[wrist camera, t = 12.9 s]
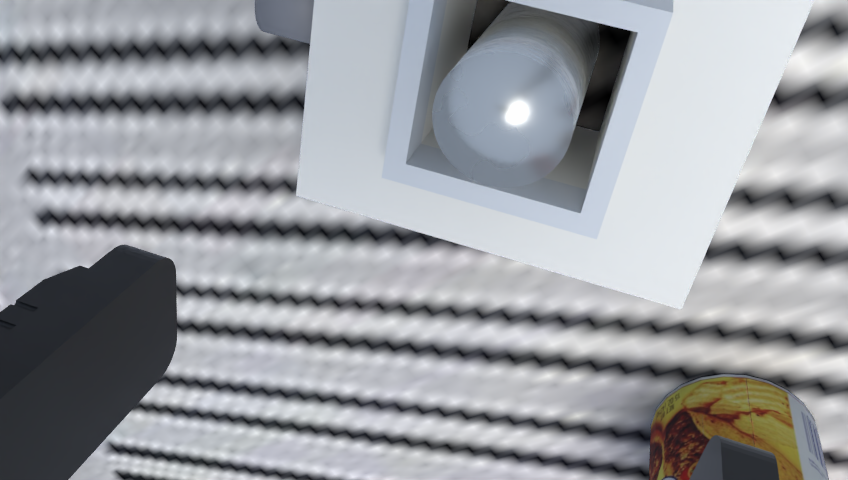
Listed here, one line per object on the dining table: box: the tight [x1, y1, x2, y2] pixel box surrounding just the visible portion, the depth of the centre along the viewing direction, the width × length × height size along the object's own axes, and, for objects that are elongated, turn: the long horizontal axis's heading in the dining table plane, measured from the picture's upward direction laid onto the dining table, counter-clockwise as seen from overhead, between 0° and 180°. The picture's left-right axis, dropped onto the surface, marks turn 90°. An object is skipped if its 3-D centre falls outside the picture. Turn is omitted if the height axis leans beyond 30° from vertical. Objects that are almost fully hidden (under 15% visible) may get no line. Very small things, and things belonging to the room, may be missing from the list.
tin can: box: [432, 2, 600, 188], centre depth 28 cm, size 4×4×10 cm
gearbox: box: [255, 0, 814, 310], centre depth 29 cm, size 19×14×8 cm
